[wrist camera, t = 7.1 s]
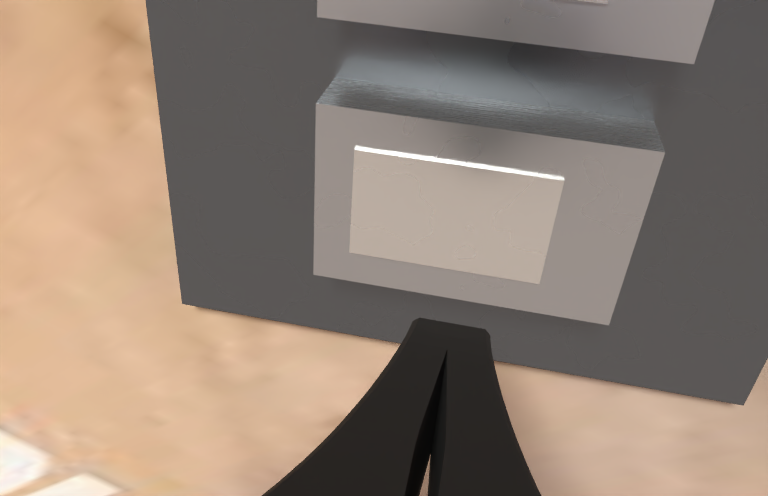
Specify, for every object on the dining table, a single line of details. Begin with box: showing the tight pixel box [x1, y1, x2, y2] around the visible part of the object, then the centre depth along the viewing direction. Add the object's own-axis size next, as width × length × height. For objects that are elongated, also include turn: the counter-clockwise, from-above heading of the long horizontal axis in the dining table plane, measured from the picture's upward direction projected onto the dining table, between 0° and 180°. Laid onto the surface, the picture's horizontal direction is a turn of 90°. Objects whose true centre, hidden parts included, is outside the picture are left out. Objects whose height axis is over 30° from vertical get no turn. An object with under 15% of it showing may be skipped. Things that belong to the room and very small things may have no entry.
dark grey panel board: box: [146, 0, 768, 405], centre depth 15 cm, size 18×22×3 cm
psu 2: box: [313, 78, 665, 325], centre depth 18 cm, size 8×5×2 cm, turn 86°
